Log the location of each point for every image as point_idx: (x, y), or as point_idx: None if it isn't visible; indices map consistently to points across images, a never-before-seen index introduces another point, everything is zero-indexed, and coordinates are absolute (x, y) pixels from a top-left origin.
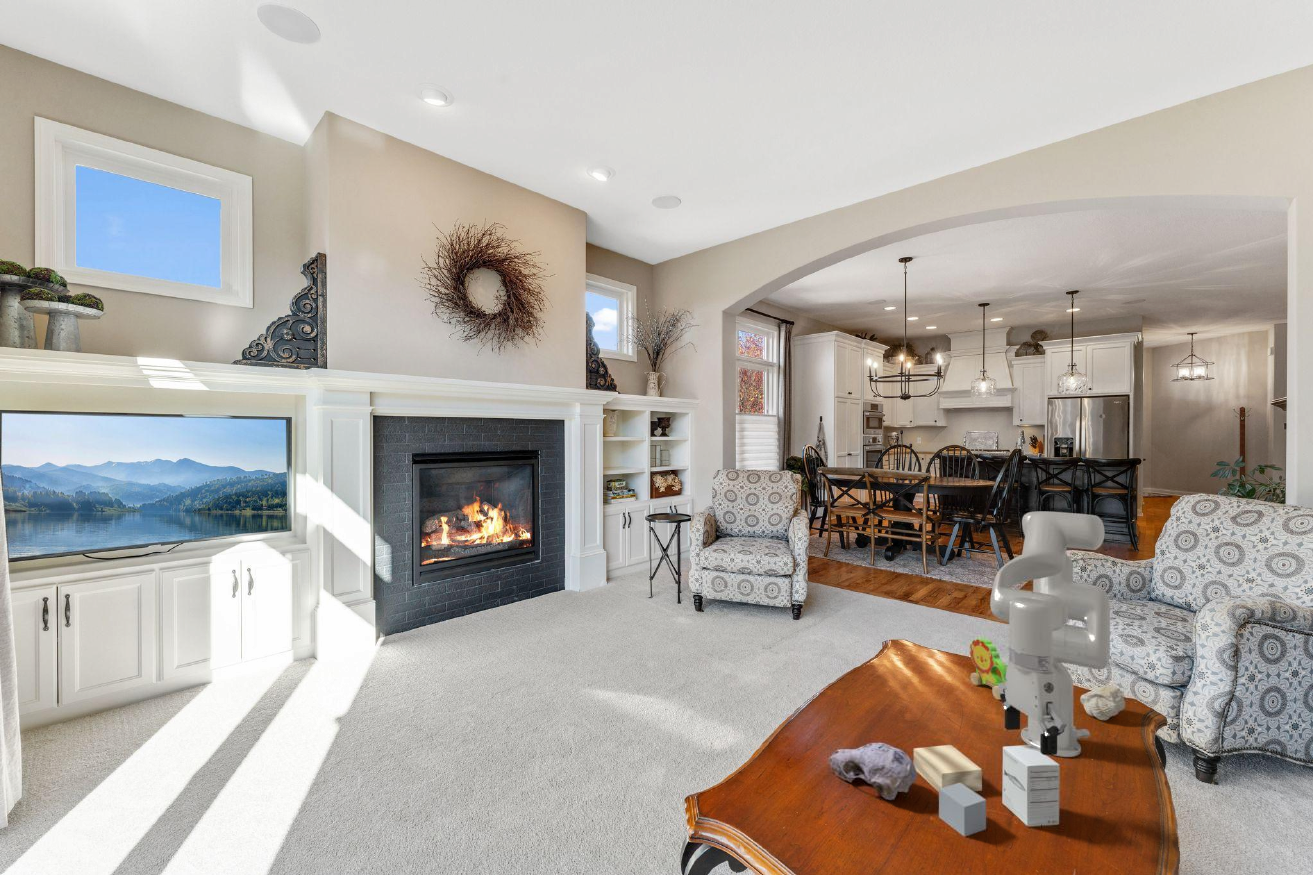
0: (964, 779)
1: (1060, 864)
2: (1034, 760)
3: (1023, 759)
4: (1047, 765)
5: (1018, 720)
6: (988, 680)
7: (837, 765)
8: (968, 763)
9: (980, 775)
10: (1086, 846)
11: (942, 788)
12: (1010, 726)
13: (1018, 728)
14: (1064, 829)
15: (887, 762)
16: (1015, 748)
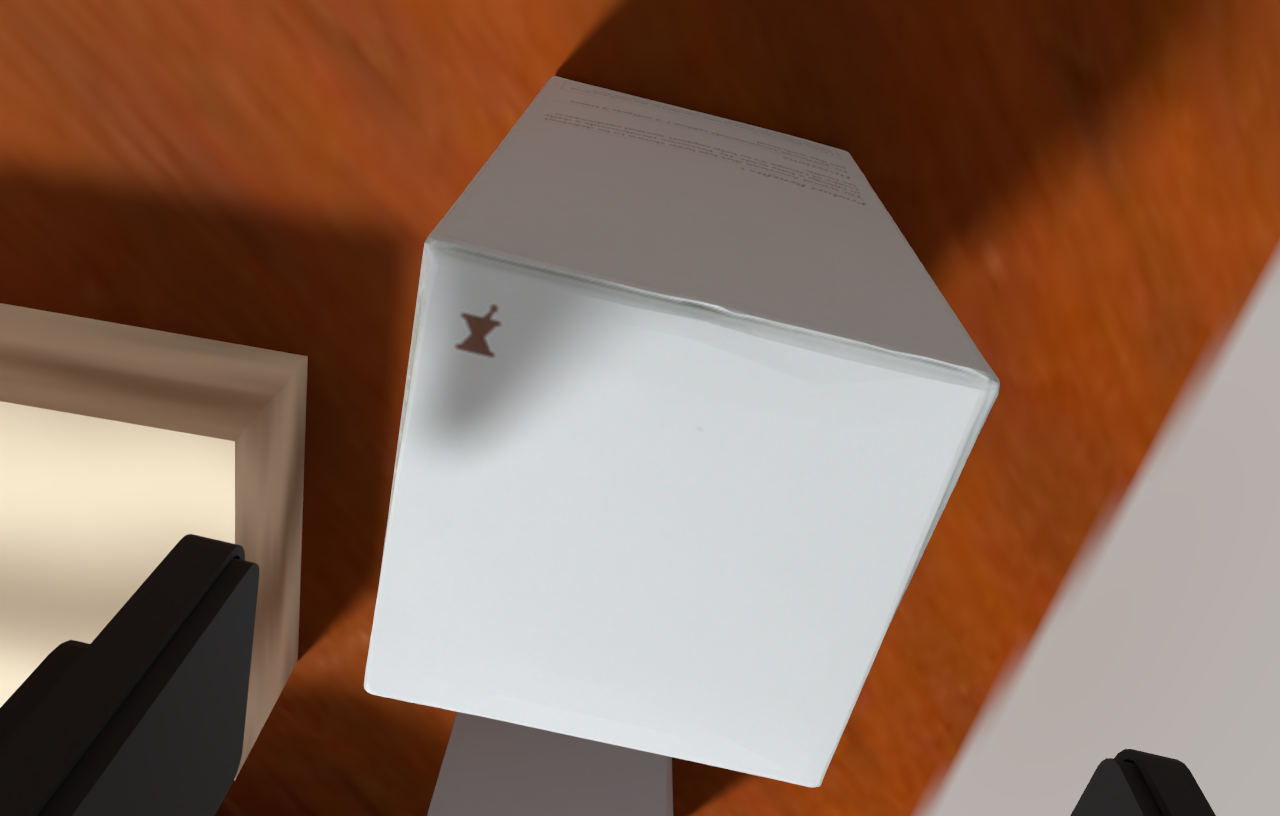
0: (265, 561)
1: (1095, 547)
2: (774, 624)
3: (696, 719)
4: (918, 550)
5: (171, 711)
6: None
7: None
8: (122, 474)
9: (258, 427)
10: (1105, 202)
11: None
12: (218, 767)
13: (249, 589)
14: (907, 169)
15: None
16: (453, 595)
